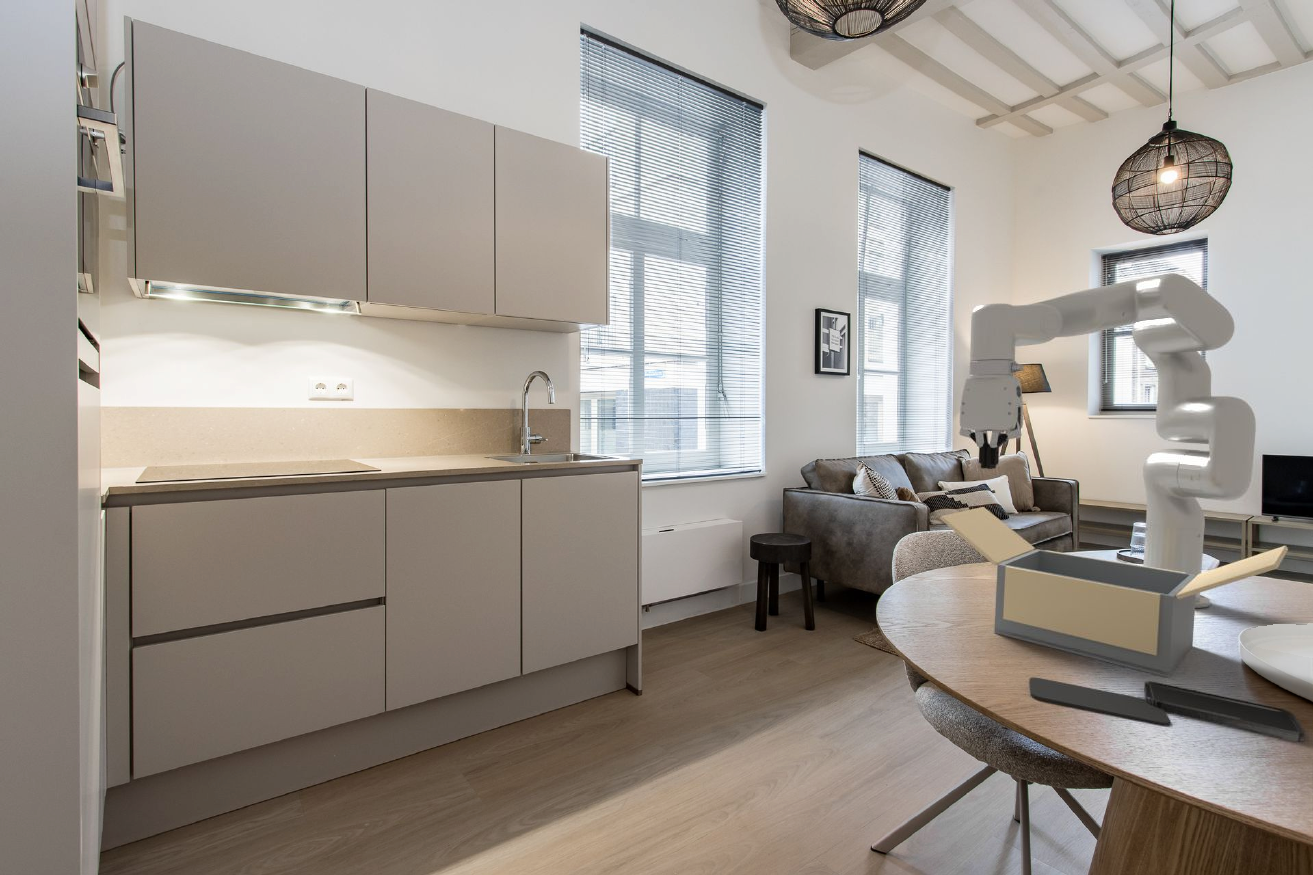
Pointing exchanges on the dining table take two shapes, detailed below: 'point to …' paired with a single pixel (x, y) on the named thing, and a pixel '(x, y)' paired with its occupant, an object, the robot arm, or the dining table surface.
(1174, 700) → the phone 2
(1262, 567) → the carton flap
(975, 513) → the carton flap
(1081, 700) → the phone
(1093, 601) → the carton
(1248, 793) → the dining table surface
